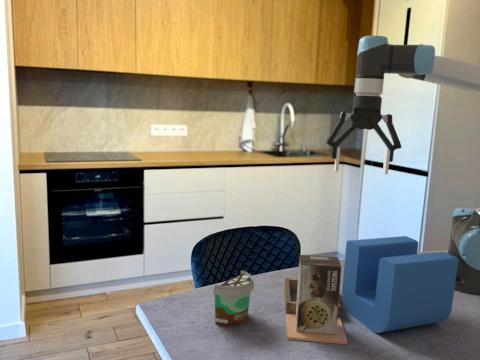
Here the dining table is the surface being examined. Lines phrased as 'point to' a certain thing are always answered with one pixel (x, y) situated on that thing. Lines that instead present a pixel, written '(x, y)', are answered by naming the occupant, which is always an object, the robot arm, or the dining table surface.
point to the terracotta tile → (315, 337)
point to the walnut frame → (289, 305)
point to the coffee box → (318, 294)
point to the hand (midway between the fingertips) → (360, 172)
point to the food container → (233, 300)
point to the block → (397, 283)
